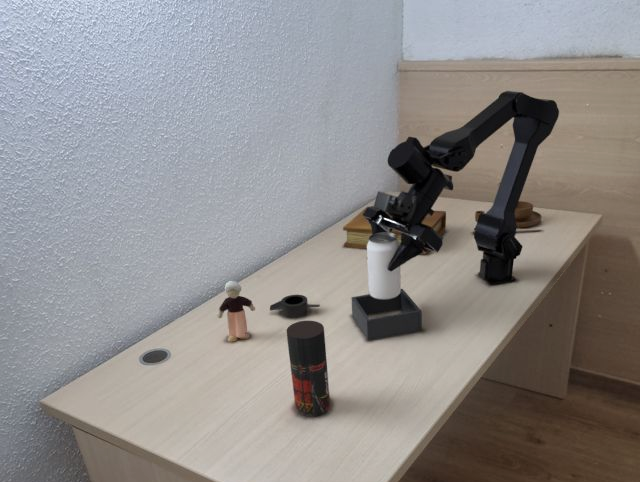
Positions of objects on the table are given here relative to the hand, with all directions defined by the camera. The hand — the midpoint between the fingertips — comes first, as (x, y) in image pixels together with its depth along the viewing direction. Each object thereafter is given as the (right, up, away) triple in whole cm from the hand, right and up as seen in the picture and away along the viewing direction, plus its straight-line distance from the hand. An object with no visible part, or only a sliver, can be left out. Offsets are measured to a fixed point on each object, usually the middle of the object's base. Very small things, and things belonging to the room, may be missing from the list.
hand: (378, 265), depth 121 cm
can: (+2, -5, +4) cm, 7 cm away
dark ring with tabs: (-17, -8, +15) cm, 24 cm away
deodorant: (-13, -27, -16) cm, 34 cm away
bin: (+2, -11, +7) cm, 13 cm away
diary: (+9, +15, +49) cm, 52 cm away
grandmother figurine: (-28, -14, +7) cm, 32 cm away
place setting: (+41, +20, +53) cm, 70 cm away
